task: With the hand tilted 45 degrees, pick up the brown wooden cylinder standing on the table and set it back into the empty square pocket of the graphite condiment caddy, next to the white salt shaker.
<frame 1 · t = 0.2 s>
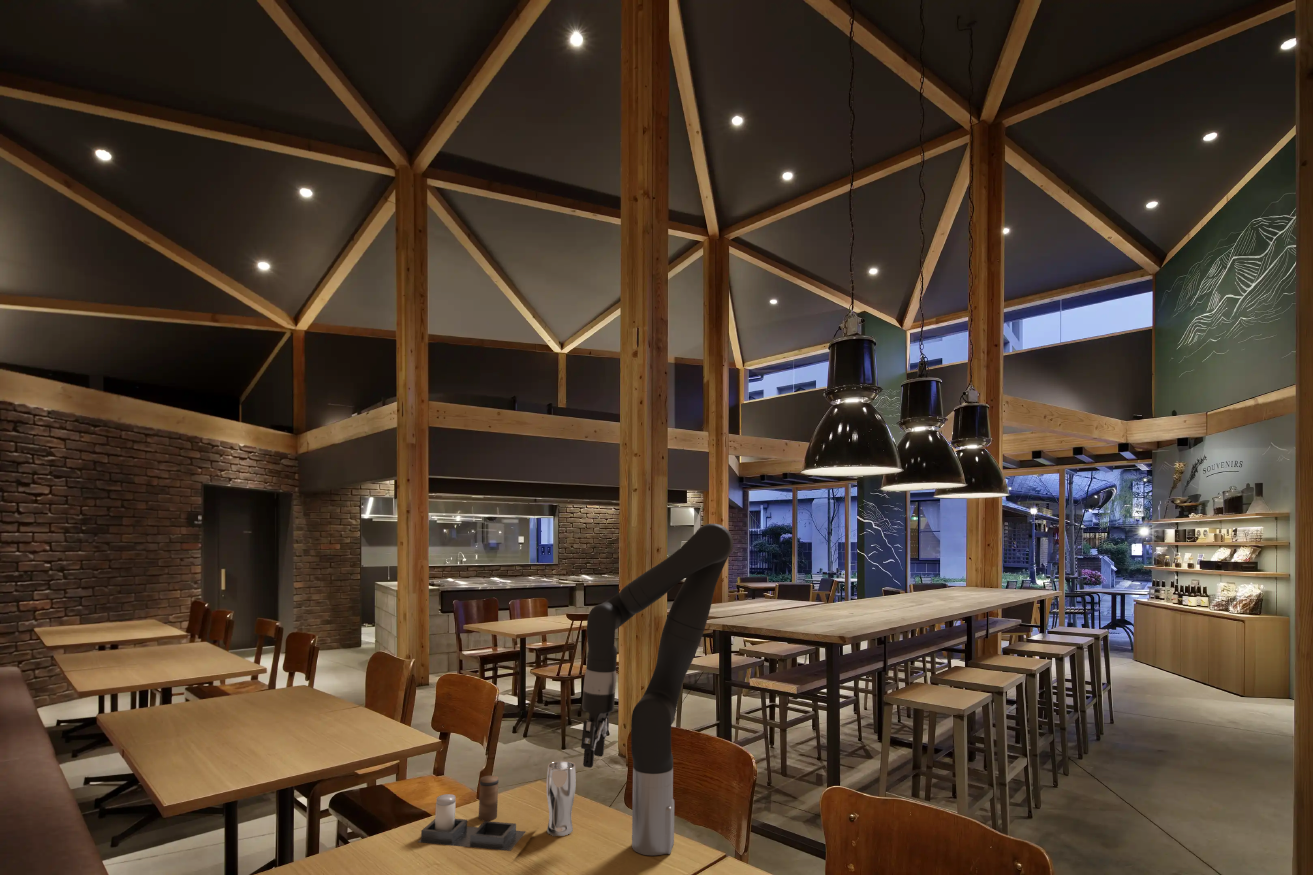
hand: (593, 760, 164), 18 cm above the table, tool pointing down, fingers open, 8 cm apart
brown wooden cylinder: (487, 821, 172), on the table
salt shaker: (444, 833, 162), point 1 cm above the table, touching condiment caddy
beer glass: (559, 832, 167), on the table
condiment caddy: (472, 841, 161), on the table
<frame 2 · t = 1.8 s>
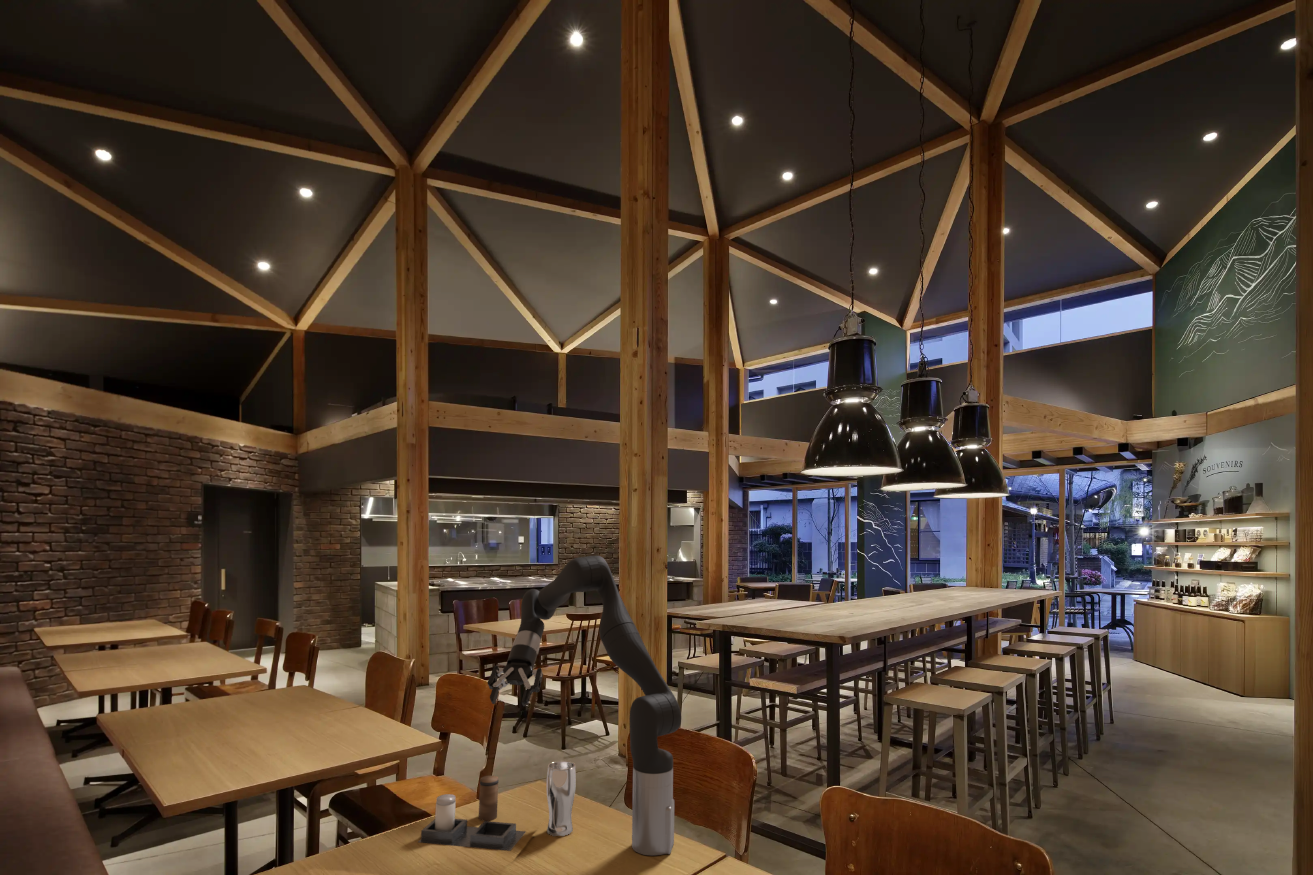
hand: (508, 703, 186), 25 cm above the table, tool tilted 45°, fingers open, 8 cm apart
nothing on the table moved.
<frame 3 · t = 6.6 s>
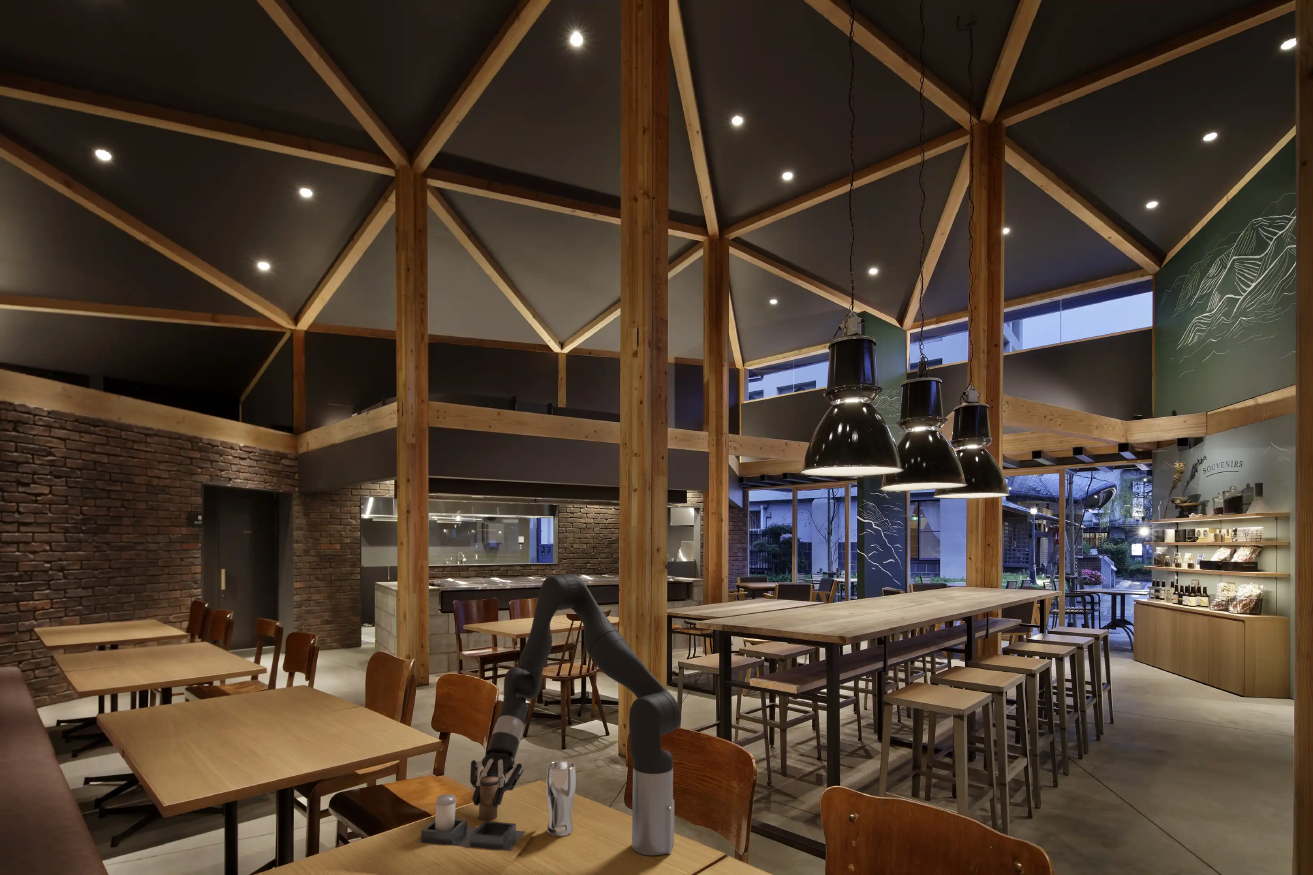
hand: (485, 804, 171), 5 cm above the table, tool tilted 45°, fingers closed on brown wooden cylinder, 4 cm apart
brown wooden cylinder: (487, 821, 172), on the table, touching gripper
everything else where it was.
when the fingers open (7 cm above the table, at t = 11.3 s): brown wooden cylinder drops 1 cm, resting on condiment caddy.
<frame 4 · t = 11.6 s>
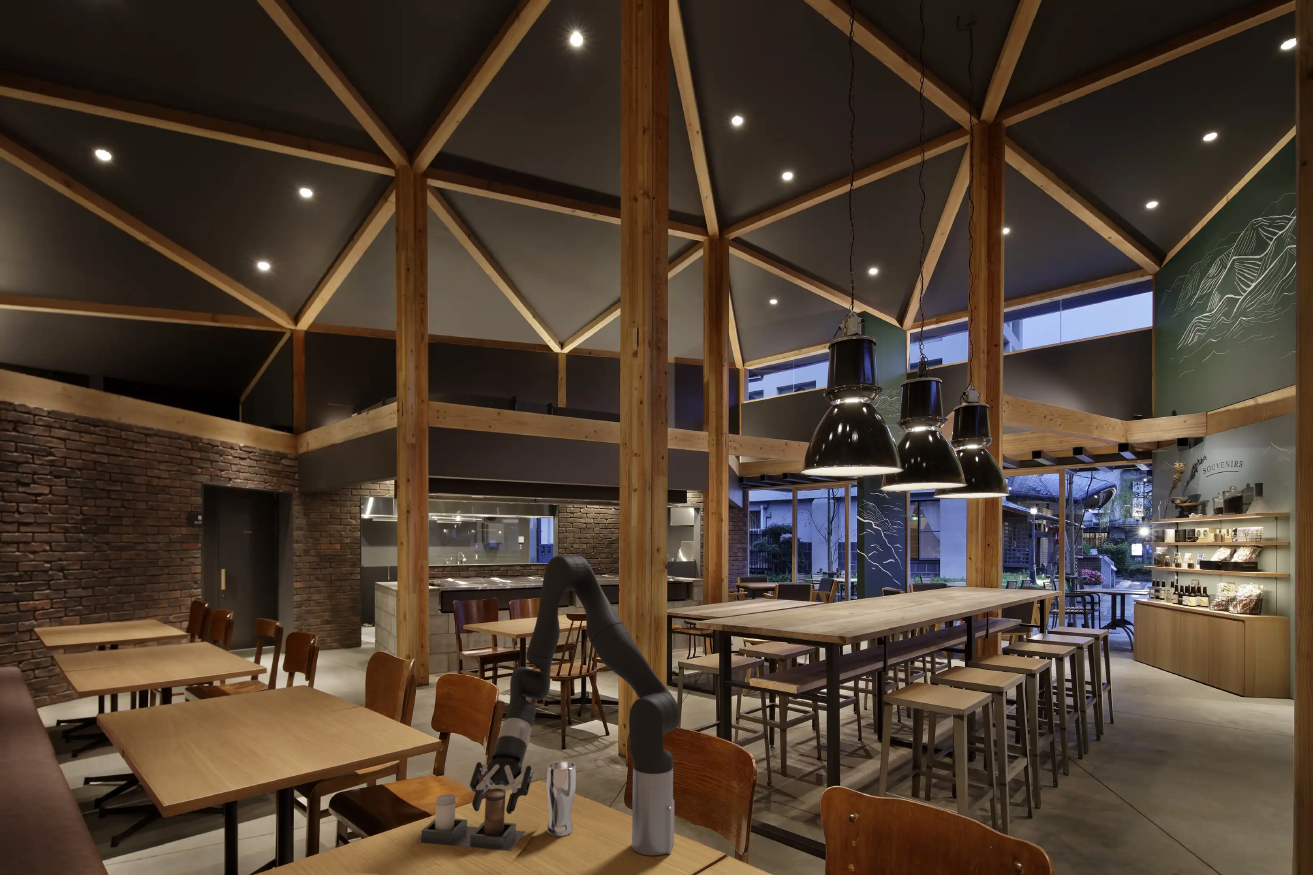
hand: (492, 810, 160), 8 cm above the table, tool tilted 45°, fingers open, 7 cm apart
brown wooden cylinder: (493, 837, 161), point 1 cm above the table, touching condiment caddy
everything else where it was.
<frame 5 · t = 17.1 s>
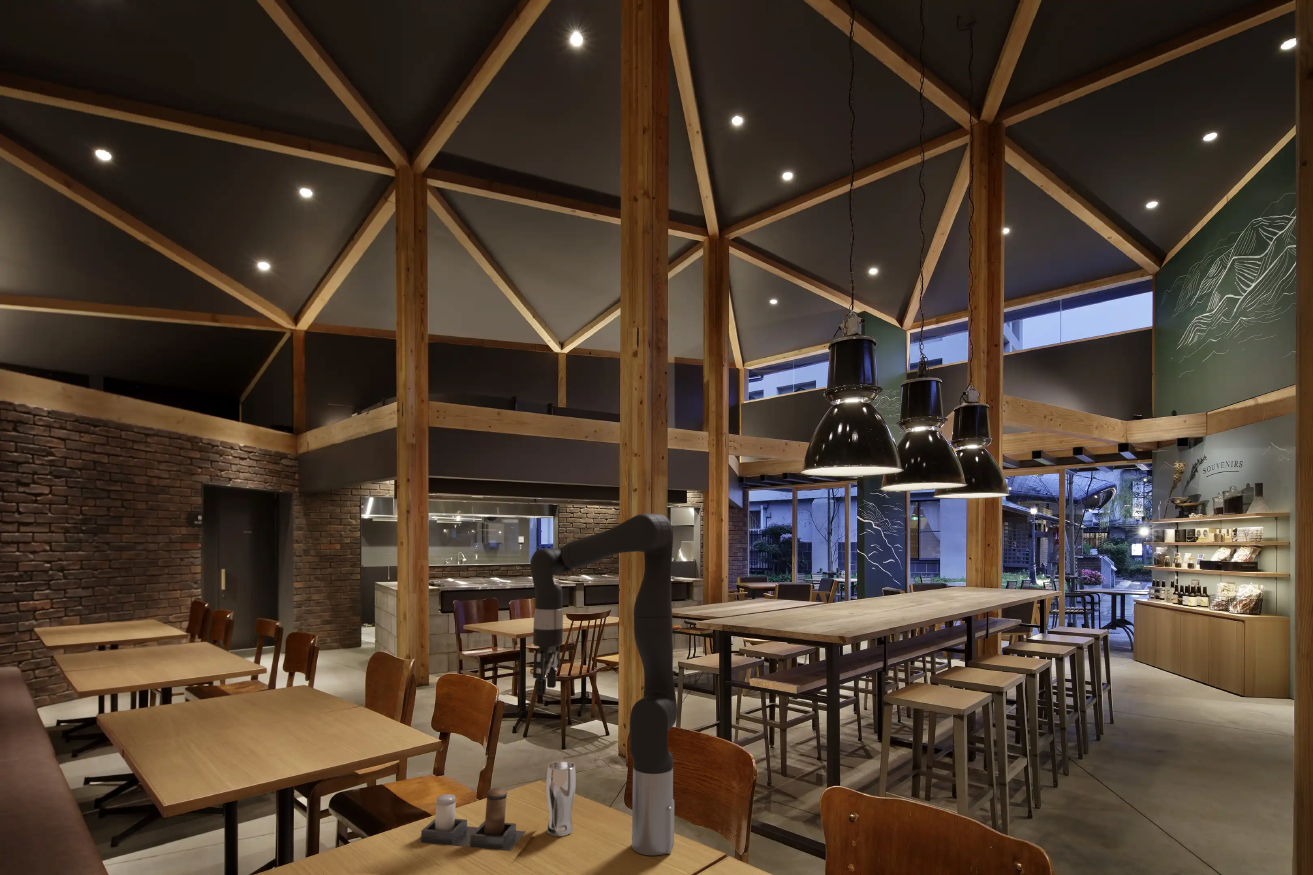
hand: (546, 690, 180), 30 cm above the table, tool pointing down, fingers open, 8 cm apart
nothing on the table moved.
at the end: brown wooden cylinder 0.1 cm from the target spot on the condiment caddy, point 1.1 cm above the condiment caddy's base; brown wooden cylinder tilted 2°; the gripper is holding nothing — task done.
